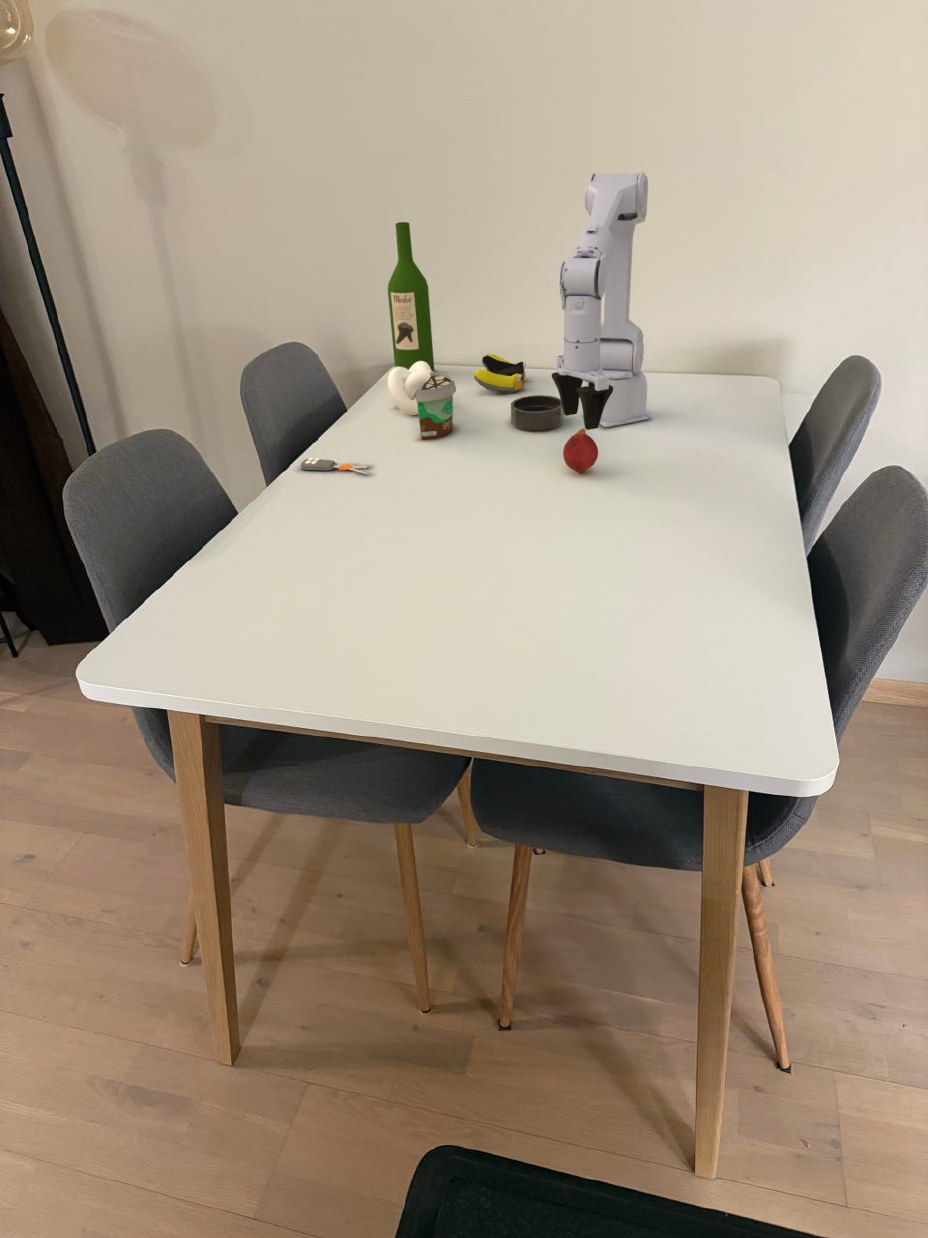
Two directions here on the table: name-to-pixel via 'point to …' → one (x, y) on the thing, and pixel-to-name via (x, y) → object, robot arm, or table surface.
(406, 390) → the white knotted piece
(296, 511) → the table surface
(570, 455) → the onion
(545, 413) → the bowl
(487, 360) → the banana bunch
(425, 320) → the wine bottle
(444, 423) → the food container
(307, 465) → the key chain
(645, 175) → the robot arm
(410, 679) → the table surface
